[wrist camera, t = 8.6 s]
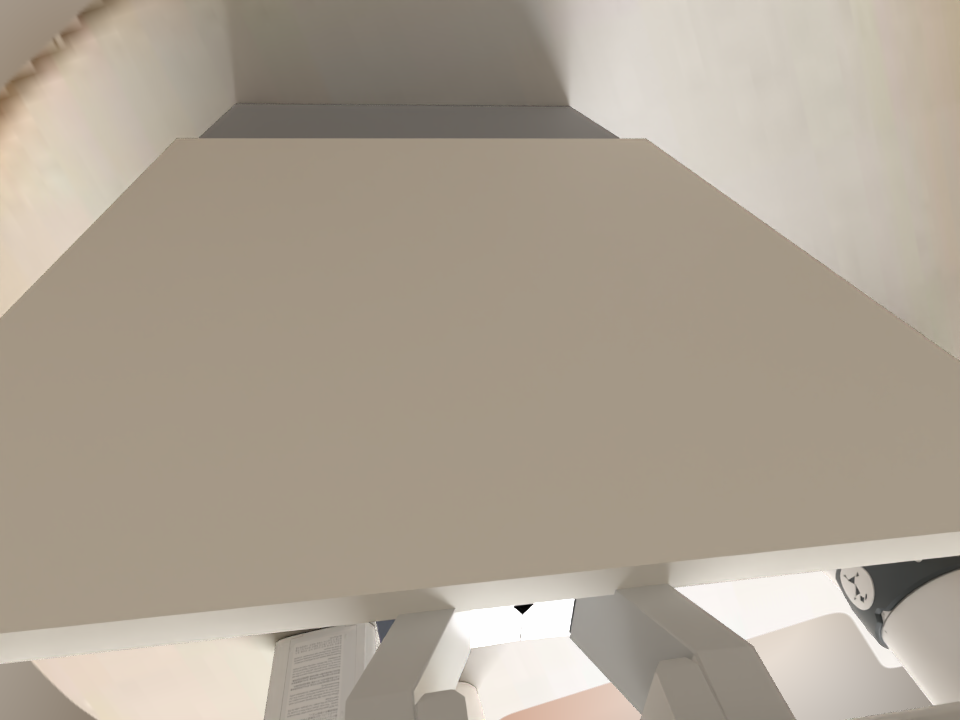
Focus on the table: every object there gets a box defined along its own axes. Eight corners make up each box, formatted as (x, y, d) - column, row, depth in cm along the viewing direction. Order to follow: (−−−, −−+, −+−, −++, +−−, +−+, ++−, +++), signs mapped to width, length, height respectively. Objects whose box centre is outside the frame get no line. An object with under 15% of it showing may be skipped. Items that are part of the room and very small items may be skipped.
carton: (570, 106, 38) (641, 152, 28) (542, 373, 49) (587, 476, 38) (236, 103, 35) (181, 153, 25) (283, 388, 46) (259, 503, 36)
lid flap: (643, 152, 28) (645, 138, 27) (1143, 534, 10) (1167, 509, 10) (180, 153, 25) (176, 138, 25) (-309, 699, 7) (-346, 670, 7)
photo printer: (283, 661, 63) (266, 795, 53) (268, 638, 61) (247, 773, 50) (380, 637, 63) (382, 766, 53) (369, 613, 61) (369, 743, 51)
